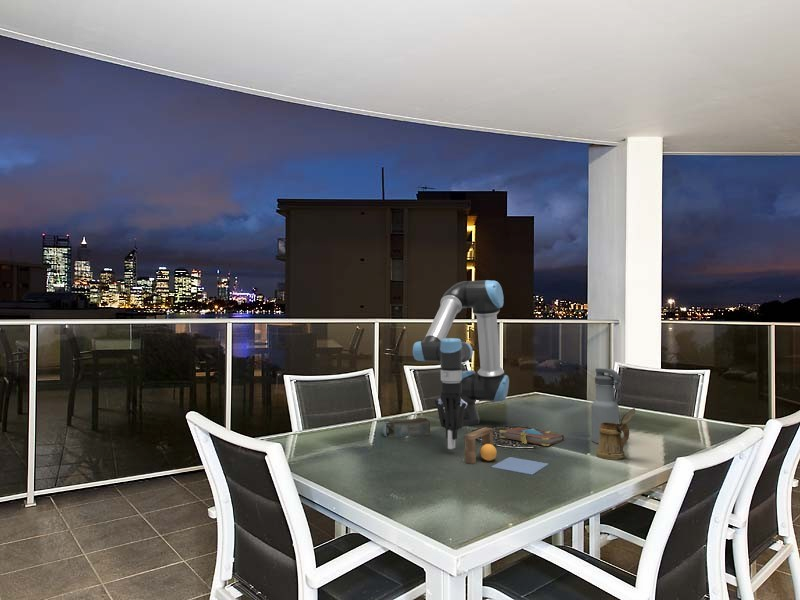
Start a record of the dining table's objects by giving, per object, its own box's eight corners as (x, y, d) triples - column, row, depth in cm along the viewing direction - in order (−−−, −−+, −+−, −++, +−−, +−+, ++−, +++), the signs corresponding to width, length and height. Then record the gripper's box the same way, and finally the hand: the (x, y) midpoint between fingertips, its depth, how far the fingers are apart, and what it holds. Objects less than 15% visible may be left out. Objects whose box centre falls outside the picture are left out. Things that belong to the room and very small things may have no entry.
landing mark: (509, 457, 185) (509, 456, 185) (548, 464, 176) (548, 463, 176) (491, 467, 173) (491, 466, 173) (532, 474, 165) (532, 474, 165)
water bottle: (624, 442, 205) (623, 369, 206) (614, 447, 198) (613, 371, 199) (598, 437, 212) (597, 367, 213) (587, 442, 205) (586, 369, 206)
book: (510, 434, 226) (510, 422, 226) (565, 443, 209) (565, 430, 209) (488, 438, 214) (488, 426, 214) (545, 449, 197) (545, 435, 197)
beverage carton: (382, 434, 222) (382, 418, 222) (426, 432, 225) (426, 416, 226) (385, 438, 214) (385, 422, 214) (431, 436, 218) (431, 420, 218)
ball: (482, 451, 186) (488, 438, 184) (495, 461, 183) (501, 448, 181) (475, 456, 181) (481, 443, 180) (488, 466, 179) (494, 452, 177)
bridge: (464, 462, 179) (464, 435, 179) (485, 453, 191) (484, 427, 191) (472, 464, 177) (472, 436, 177) (492, 454, 189) (492, 428, 189)
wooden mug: (629, 464, 176) (628, 409, 176) (591, 456, 186) (590, 404, 187) (642, 459, 181) (641, 406, 182) (604, 451, 192) (604, 401, 192)
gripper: (430, 381, 192) (430, 447, 191) (461, 384, 184) (462, 453, 183) (441, 379, 198) (441, 443, 197) (472, 381, 190) (472, 448, 190)
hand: (451, 448), depth 190 cm, fingers closed
